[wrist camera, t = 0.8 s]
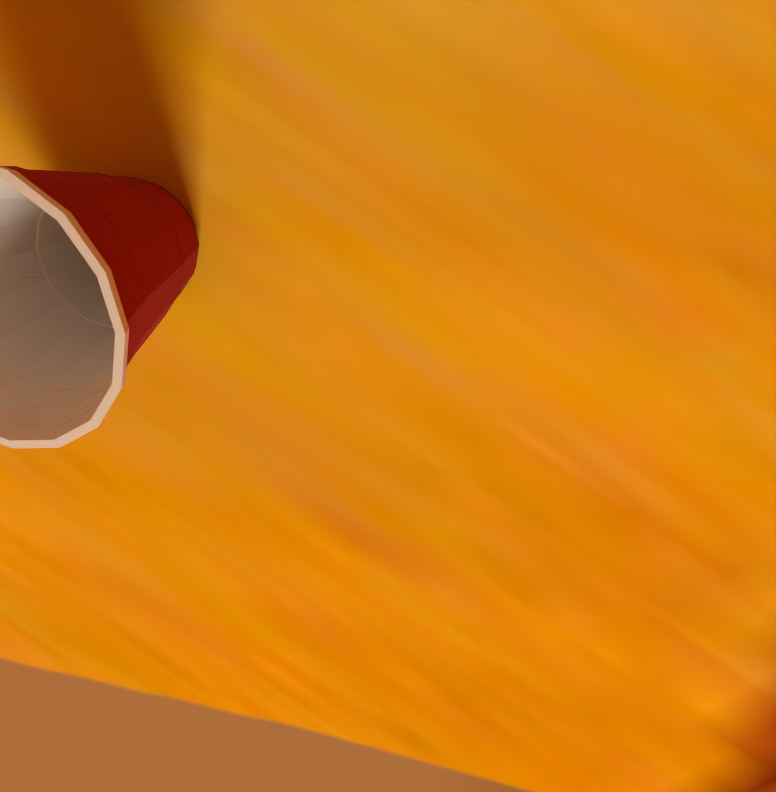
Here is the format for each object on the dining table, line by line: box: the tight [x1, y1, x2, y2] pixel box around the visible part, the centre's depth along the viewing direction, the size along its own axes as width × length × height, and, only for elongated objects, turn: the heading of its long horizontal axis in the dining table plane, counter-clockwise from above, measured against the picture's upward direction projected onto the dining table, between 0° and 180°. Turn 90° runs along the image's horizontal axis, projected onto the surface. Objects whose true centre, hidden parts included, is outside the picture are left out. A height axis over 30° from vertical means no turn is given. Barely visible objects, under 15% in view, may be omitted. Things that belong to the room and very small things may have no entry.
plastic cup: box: [0, 166, 199, 448], centre depth 30 cm, size 11×11×12 cm
